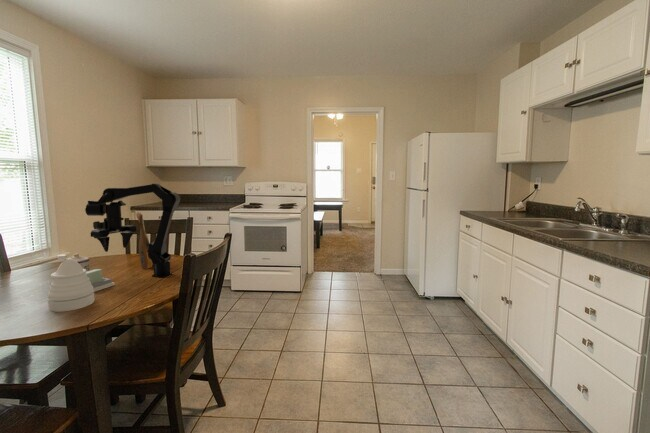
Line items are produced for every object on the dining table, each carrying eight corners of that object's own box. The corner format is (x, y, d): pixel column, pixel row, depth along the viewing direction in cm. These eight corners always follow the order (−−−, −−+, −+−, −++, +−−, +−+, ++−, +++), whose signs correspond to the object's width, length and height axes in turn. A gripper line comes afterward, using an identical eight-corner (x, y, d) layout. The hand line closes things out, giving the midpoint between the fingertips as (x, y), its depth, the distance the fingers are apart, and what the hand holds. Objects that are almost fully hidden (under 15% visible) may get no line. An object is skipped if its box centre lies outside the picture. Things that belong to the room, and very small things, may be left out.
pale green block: (86, 288, 128) (85, 274, 128) (80, 288, 129) (79, 273, 129) (102, 283, 135) (101, 269, 134) (97, 282, 136) (96, 268, 135)
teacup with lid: (87, 281, 141) (85, 255, 140) (61, 283, 138) (59, 256, 136) (94, 273, 152) (92, 249, 151) (70, 275, 149) (68, 251, 147)
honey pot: (42, 313, 107) (37, 260, 105) (56, 300, 118) (52, 252, 116) (89, 308, 112) (85, 257, 110) (98, 296, 124) (95, 249, 122)
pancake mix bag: (137, 271, 158) (134, 214, 155) (138, 262, 175) (136, 210, 172) (153, 269, 161) (150, 213, 158) (152, 260, 178) (150, 210, 175)
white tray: (114, 284, 137) (114, 279, 136) (86, 294, 125) (86, 288, 125) (96, 282, 139) (96, 276, 139) (67, 291, 128) (67, 285, 128)
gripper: (118, 213, 157) (120, 244, 159) (79, 217, 139) (82, 252, 141) (136, 214, 154) (138, 246, 156) (99, 218, 136) (101, 254, 138)
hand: (115, 249), depth 148 cm, fingers open, 9 cm apart
